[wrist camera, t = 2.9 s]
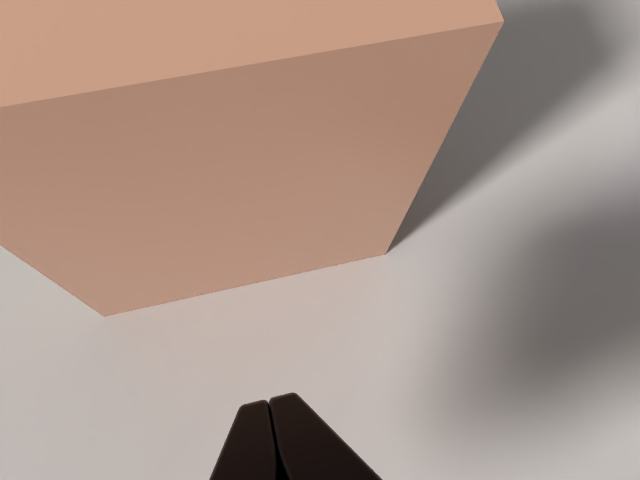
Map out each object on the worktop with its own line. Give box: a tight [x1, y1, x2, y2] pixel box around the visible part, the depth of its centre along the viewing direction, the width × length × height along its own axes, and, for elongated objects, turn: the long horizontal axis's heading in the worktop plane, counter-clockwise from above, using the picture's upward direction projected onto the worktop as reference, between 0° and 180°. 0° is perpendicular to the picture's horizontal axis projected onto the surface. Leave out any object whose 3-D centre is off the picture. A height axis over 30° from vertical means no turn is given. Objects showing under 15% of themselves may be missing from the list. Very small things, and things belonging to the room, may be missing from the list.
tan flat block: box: [0, 0, 504, 317], centre depth 15 cm, size 4×10×12 cm, turn 104°
